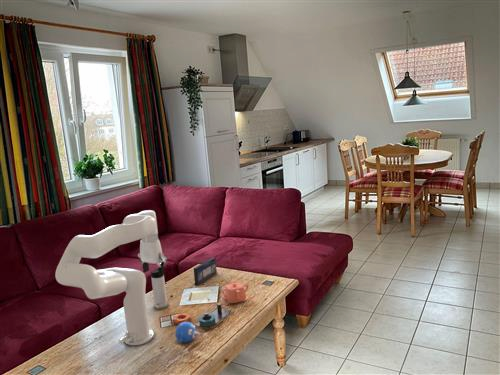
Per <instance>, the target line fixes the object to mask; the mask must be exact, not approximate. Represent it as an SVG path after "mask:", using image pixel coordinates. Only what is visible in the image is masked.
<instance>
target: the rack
mask: <svg viewBox="0 0 500 375" xmlns="http://www.w3.org/2000/svg"><path fill="white" fill-rule="evenodd" d="M231 312H232V310H229V309H224V308H222V303H221V302H218V303H216V308H215V309H214V310H213V311H212V312H210V313H209V312H207V311H206V312H204V313H203V315H204V316H205V320H209V314H212V315H214V316H215V322H216V323H214V324H213V325H212V326H207V327H204V326H200V324H199V321H198V322H197V323H195V326H198V327H202V328H205V329H211V328H212V327H213V326H214V325H216V324H217V323H218V322H220V321H221V320H222V319H223V318H224V317H226V316H227V315H229V313H231Z"/></svg>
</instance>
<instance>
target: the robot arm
mask: <svg viewBox="0 0 500 375" xmlns="http://www.w3.org/2000/svg"><path fill="white" fill-rule="evenodd" d="M158 231H159V230H158V221H157V215H156V212H155V210H151V209H148V210H142V211H140V212H138V213H133V214H129V215H127V216H125V217H124V219H123V220H122V224H115V225H110V226H108V227H106V228H105V229H102V230H101V231H99V232H96V233H95V234H92V235H85V234H78V235H75V236H74V237H73V238H72V239H71V240H70V241H69V243H68V245H67V247H66V248H65V250H64V252H63V254H62V256H61V257H60V260H59V263H58V265H57V267H56V270H55V280H56V282H57V283H58V284H60V285H62V286H66V287H74V288H79V289H82V290H83V291H84V293H85V296H86V297H87V298H88V299H89V300H97V299H101V298H107V297H111V296H117V295H120V294H121V293H123V292H125V293H126V294H125V296H124V298H123V303H122V304H123V311H124V319H125V326H126V331H125V332H124V334H125V335H124V336H123V337H121V338H119V339H118V342H119V344H120V345H122V344H124V343H125V344H127V345H128V346H142V345H144V344H146V343H148V342H150V341H151V340H152V339H153V338H154V334H155V333H154V331H153V330H152V329H151V328H150V322H149V320H150V319H149V314H148V312H149V311H148V304H147V297H146V288H147V287H146V285H147V277H146V274H145V273H147V272H150V265H149V264H156V265H157V266H158V267H157V269H158V272H159V276H161V275H163V274H164V275H165V273H166V272H165V266H166V264H167V261H168V257H166V256H165V255H164V254H163V248H162V245H161V242H160V239H159V232H158ZM139 240H140V241H139ZM135 241H139V242H140V244H139V253H137V257H138V259H139V261H140V264H141V265H142V270H139V269H135V268H124V267H109V268H103V269H96V268H95V267H94V266H92V265H89V264H86V263H85V264H84V263H80V262H81V260H82V258H85V259H98V258H100V257H103V256H104V255H106V254H107V253H109V252H111V251H112V250H114V249H115V248H117V247H119V246H121V245H125V244H129V243H131V242H135Z"/></svg>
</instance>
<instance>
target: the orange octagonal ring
mask: <svg viewBox="0 0 500 375" xmlns="http://www.w3.org/2000/svg"><path fill="white" fill-rule="evenodd" d="M190 316H191V315H190V314H189V313H186V312H182V313H177V314H176V315H174V316H173V322H174V323H175V324H178V325H179V324H180V323H182V322H190V320H191V317H190Z"/></svg>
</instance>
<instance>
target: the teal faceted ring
mask: <svg viewBox="0 0 500 375" xmlns="http://www.w3.org/2000/svg"><path fill="white" fill-rule="evenodd" d="M198 322H199V324H200V326H199V327H201V326H204V327H203V328H205V327H207V326H212V325H213V324H214V323H216V322H215V316H214V315H212V314H210V313H209V320H205V316H204V314H202V315H200V316H199V317H198ZM216 324H217V323H216ZM214 325H215V324H214ZM214 325H213V326H214ZM213 326H212V327H213Z"/></svg>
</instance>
